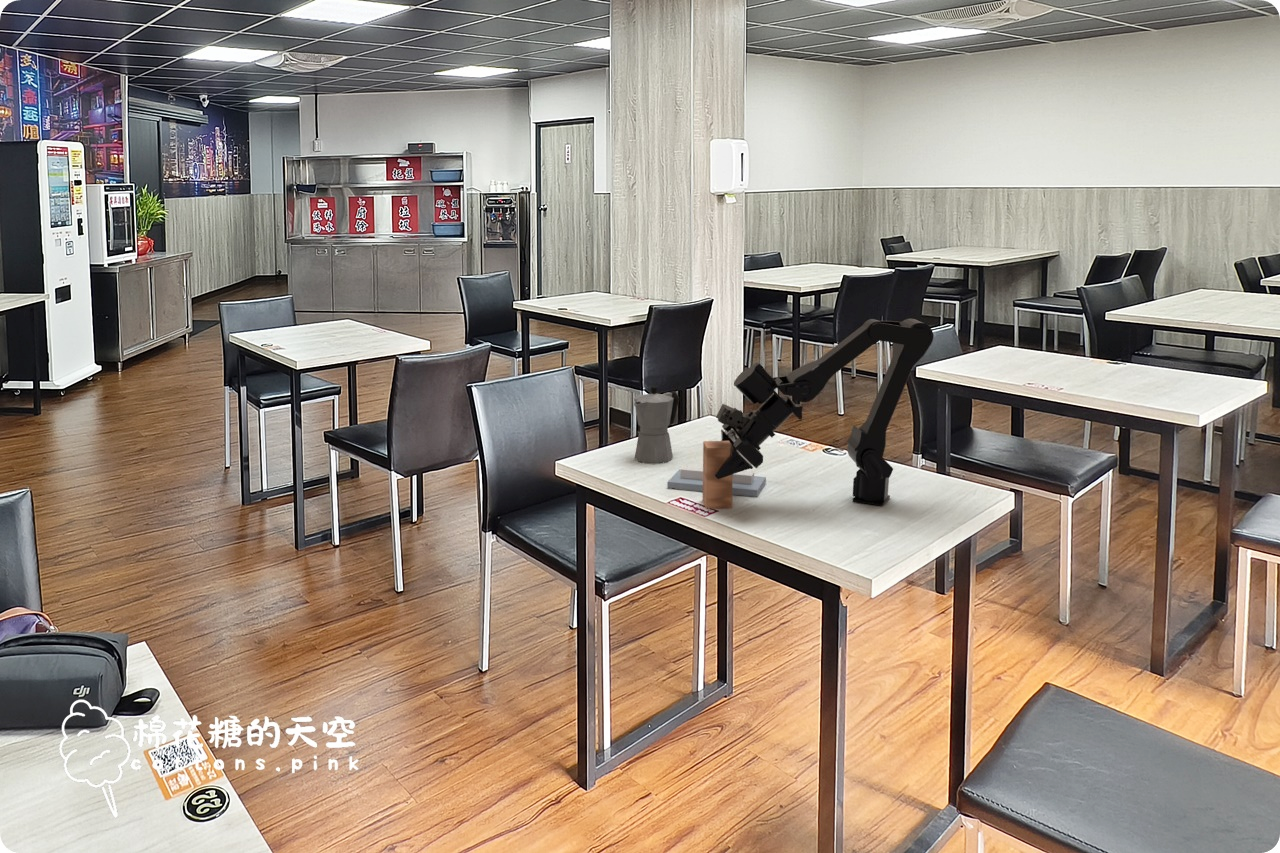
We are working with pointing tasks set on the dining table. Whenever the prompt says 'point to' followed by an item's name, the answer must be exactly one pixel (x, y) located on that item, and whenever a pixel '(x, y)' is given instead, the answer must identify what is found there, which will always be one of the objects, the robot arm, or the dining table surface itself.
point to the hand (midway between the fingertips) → (712, 471)
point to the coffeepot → (655, 425)
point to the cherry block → (714, 489)
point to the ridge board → (693, 481)
